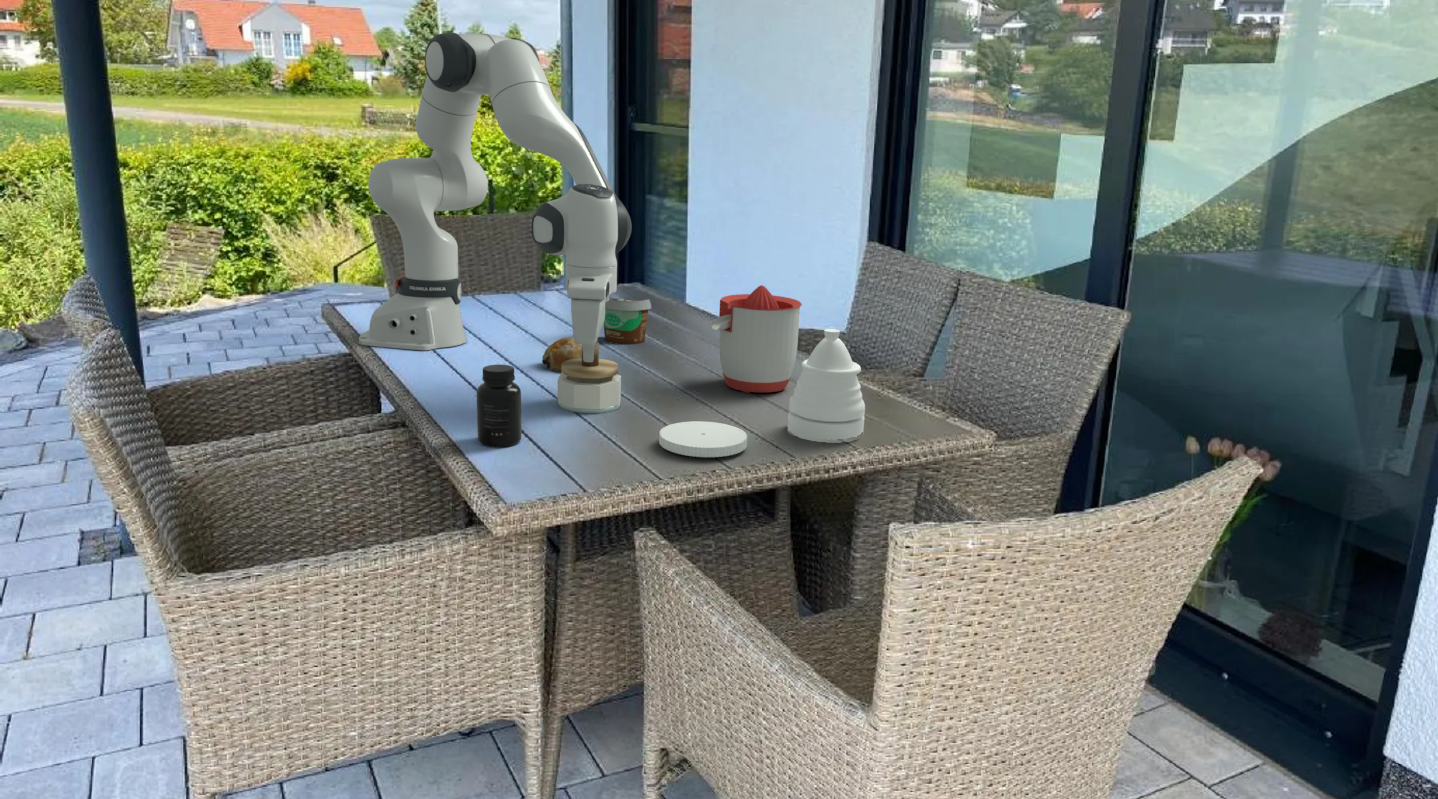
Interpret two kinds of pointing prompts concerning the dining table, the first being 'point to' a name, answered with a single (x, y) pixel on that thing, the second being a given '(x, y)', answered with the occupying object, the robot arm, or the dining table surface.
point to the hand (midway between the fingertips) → (589, 358)
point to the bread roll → (561, 353)
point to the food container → (626, 321)
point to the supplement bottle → (499, 407)
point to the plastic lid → (703, 439)
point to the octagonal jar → (589, 394)
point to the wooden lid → (590, 366)
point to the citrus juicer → (758, 340)
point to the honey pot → (827, 393)
